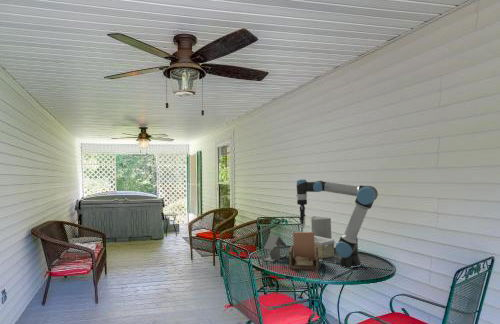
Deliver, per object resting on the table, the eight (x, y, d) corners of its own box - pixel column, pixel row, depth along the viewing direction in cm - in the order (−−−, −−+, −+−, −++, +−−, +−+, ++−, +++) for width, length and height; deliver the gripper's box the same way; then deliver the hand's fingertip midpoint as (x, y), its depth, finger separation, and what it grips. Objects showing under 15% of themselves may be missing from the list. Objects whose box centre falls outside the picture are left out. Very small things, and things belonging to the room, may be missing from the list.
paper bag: (305, 248, 306) (304, 218, 306) (315, 245, 316) (314, 216, 316) (322, 251, 292) (321, 220, 292) (332, 248, 302) (331, 218, 302)
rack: (291, 263, 262) (290, 245, 262) (318, 263, 258) (318, 246, 258) (289, 270, 244) (288, 251, 245) (318, 271, 240) (317, 252, 240)
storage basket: (301, 254, 285) (301, 237, 285) (315, 251, 294) (314, 235, 294) (322, 261, 265) (321, 242, 265) (336, 257, 274) (335, 239, 275)
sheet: (294, 262, 259) (293, 232, 259) (315, 263, 255) (313, 232, 256) (294, 263, 256) (293, 232, 257) (315, 264, 253) (313, 232, 253)
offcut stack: (295, 265, 251) (294, 256, 251) (313, 266, 248) (313, 256, 248) (294, 268, 245) (294, 258, 245) (313, 268, 242) (313, 259, 242)
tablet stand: (273, 263, 265) (272, 238, 265) (264, 261, 271) (263, 236, 271) (286, 257, 278) (285, 234, 278) (277, 255, 285) (276, 232, 285)
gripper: (298, 197, 269) (299, 223, 269) (296, 201, 245) (297, 229, 245) (307, 197, 268) (308, 223, 268) (306, 201, 243) (307, 229, 243)
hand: (302, 226), depth 256 cm, fingers open, 13 cm apart
